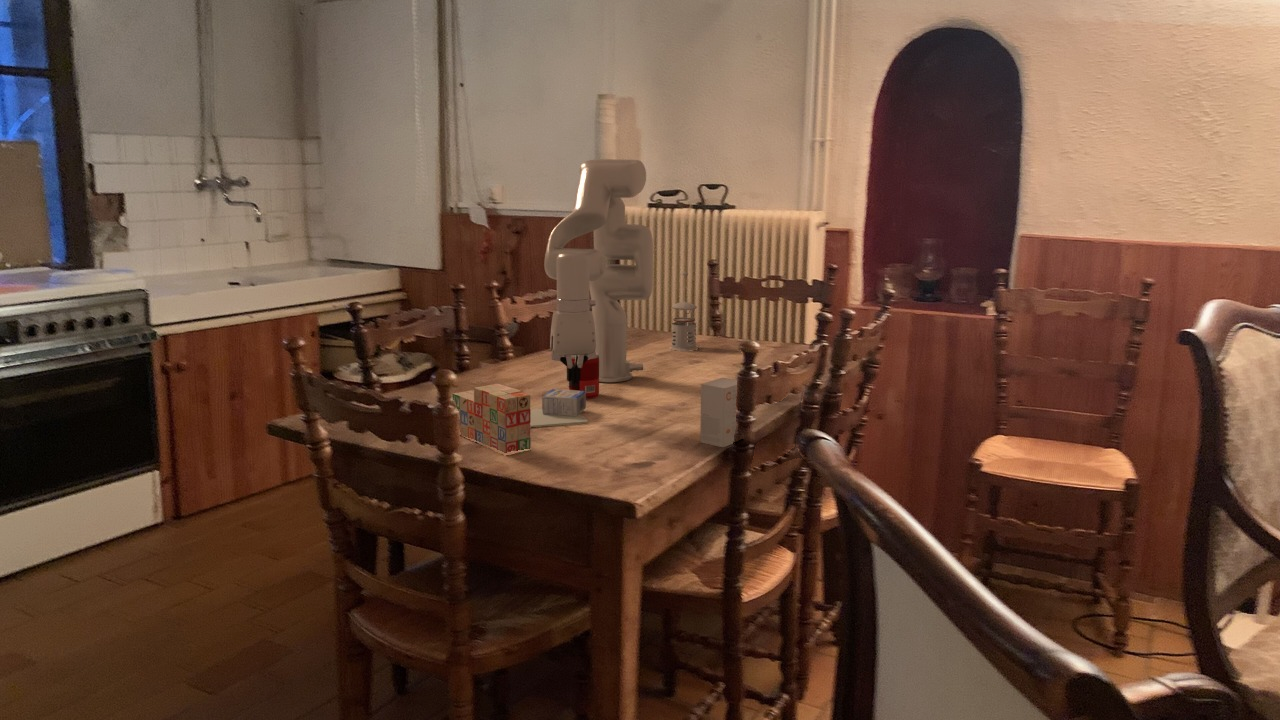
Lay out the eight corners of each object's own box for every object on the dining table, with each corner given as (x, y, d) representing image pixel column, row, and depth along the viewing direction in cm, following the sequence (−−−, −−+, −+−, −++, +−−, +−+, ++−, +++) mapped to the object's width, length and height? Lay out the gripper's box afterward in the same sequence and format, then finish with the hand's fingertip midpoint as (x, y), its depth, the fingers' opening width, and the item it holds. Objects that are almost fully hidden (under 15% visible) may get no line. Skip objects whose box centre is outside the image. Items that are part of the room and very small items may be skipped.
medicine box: (577, 398, 220) (541, 395, 221) (577, 417, 220) (541, 414, 222) (586, 390, 227) (551, 388, 229) (586, 408, 228) (551, 406, 230)
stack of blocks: (453, 434, 208) (451, 379, 205) (478, 429, 212) (476, 375, 209) (506, 457, 192) (504, 398, 189) (531, 451, 196) (530, 393, 193)
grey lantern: (665, 350, 304) (666, 272, 299) (674, 344, 314) (675, 269, 309) (694, 352, 301) (696, 274, 296) (703, 345, 312) (704, 270, 307)
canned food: (603, 393, 245) (603, 352, 243) (592, 400, 238) (592, 357, 236) (576, 391, 248) (576, 350, 245) (564, 398, 240) (563, 355, 238)
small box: (720, 434, 209) (722, 377, 206) (744, 440, 205) (746, 381, 202) (699, 442, 202) (700, 383, 200) (723, 448, 198) (724, 387, 196)
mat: (572, 408, 230) (572, 406, 230) (587, 423, 217) (587, 421, 217) (499, 414, 224) (499, 412, 224) (509, 429, 211) (509, 427, 211)
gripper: (600, 302, 223) (600, 378, 227) (537, 305, 219) (538, 382, 222) (608, 307, 216) (608, 385, 220) (544, 309, 212) (545, 389, 215)
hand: (573, 383), depth 221 cm, fingers closed
